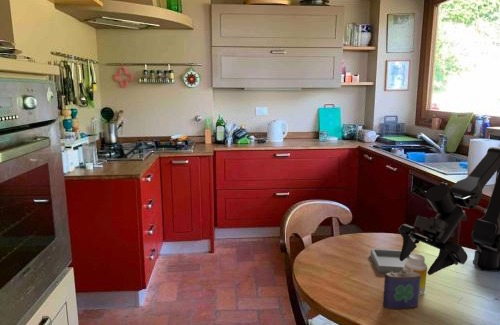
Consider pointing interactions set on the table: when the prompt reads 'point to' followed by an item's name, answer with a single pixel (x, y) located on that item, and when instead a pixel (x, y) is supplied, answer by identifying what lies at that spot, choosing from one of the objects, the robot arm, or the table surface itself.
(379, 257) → the tray
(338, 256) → the table surface
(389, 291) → the blue hip flask
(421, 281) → the supplement bottle
